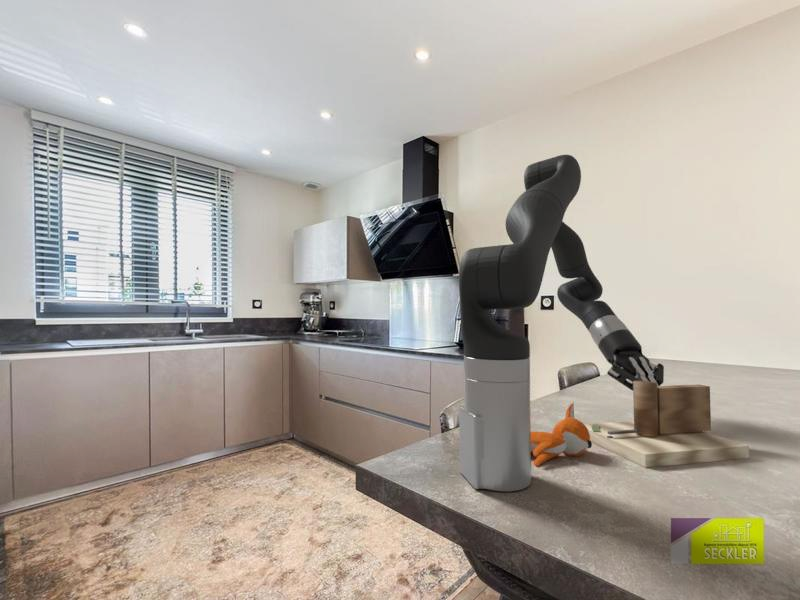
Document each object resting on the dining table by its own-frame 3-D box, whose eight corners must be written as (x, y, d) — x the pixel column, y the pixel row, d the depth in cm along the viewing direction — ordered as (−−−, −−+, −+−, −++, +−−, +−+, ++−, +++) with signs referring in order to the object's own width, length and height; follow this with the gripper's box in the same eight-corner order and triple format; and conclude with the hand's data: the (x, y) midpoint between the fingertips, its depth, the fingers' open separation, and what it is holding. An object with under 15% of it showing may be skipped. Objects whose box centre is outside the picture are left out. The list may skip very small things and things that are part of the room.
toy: (567, 444, 55) (602, 407, 65) (444, 414, 71) (488, 388, 81) (572, 497, 55) (606, 452, 66) (450, 456, 71) (492, 425, 82)
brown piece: (616, 439, 65) (615, 385, 65) (601, 432, 68) (600, 381, 69) (715, 432, 69) (714, 381, 69) (696, 426, 72) (695, 378, 73)
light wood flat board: (645, 467, 59) (645, 452, 59) (576, 435, 74) (576, 423, 74) (749, 458, 63) (748, 444, 63) (663, 429, 78) (663, 418, 78)
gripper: (596, 328, 84) (643, 396, 71) (647, 328, 87) (701, 393, 74) (580, 350, 89) (622, 417, 76) (629, 349, 92) (677, 414, 79)
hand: (661, 405), depth 75 cm, fingers closed
